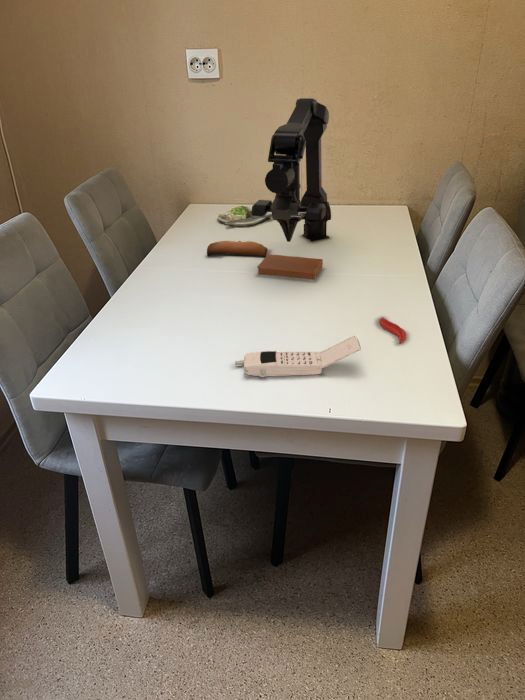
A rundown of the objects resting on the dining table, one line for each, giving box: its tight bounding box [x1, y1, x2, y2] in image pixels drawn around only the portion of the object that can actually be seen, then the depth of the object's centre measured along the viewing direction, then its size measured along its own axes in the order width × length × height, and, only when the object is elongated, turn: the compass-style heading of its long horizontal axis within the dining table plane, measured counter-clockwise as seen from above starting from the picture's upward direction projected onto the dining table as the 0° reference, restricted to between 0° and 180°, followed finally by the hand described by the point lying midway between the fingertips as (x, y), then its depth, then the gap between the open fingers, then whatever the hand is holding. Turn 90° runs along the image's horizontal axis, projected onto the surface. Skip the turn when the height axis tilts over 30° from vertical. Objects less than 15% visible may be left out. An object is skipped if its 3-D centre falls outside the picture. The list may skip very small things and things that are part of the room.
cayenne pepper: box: [378, 317, 407, 345], centre depth 126 cm, size 12×5×2 cm, turn 2°
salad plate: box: [217, 205, 272, 227], centre depth 195 cm, size 19×18×5 cm
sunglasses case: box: [206, 240, 269, 258], centre depth 169 cm, size 18×7×7 cm, turn 80°
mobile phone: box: [234, 335, 362, 378], centre depth 113 cm, size 6×6×25 cm
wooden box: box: [257, 260, 324, 280], centre depth 156 cm, size 9×16×2 cm, turn 72°
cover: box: [256, 253, 324, 274], centre depth 155 cm, size 9×16×1 cm, turn 72°
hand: (289, 241), depth 150 cm, fingers closed
